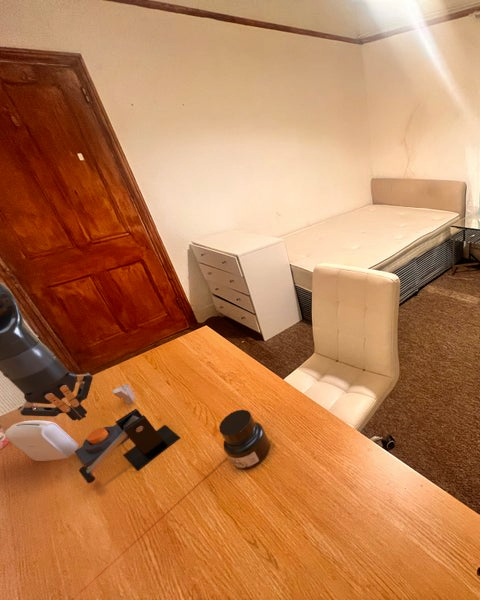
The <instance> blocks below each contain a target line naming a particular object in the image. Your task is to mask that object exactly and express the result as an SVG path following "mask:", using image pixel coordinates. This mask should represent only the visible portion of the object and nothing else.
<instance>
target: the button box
mask: <svg viewBox="0 0 480 600" xmlns="http://www.w3.org/2000/svg"><path fill="white" fill-rule="evenodd" d="M103 428H104V429H105V430H106V431H107V432H108V433H109V435H108V437H107V438H106V439H105V440H103V441H102V442H100V443H98V444H95V445H93V444H91V443H90V442H89V441H88V440H87V438H85V439H84V440H83V443H82V446H79V447H78V449H77V450H76V451H74V452H75V453H74V454H75V455H76V456H77V458H78V459H79V460H80V461H81V463H82V464H83V466H86V467H87V468H89V467H90V466H91V465H92V464H93V463H94V462H95V461H96V460H97V459H98V458H99V456H100V455H101V454H102V453H103V452H104V451H105V450H106V449H107V448H108V447H109V446H110V445H111V444H112V443H113V442H114V440H115V439H116V438H117V437H118V436H119V435H120V434H121V433H122V432H123V430H122V429H121V428H120V427H119V426H118V425H117V424H116V423H115V424H114V425H111V426H107V425H106V426H104V427H103ZM128 440H130V439H129V437H128V436H127V437H126V438H125V439H124V440H123V441H122V442H121V443H120V444H119V445H118V446H117V448H119V446H121V445H123V443H125V442H126V441H128Z"/></svg>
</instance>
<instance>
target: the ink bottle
mask: <svg viewBox="0 0 480 600" xmlns="http://www.w3.org/2000/svg"><path fill="white" fill-rule="evenodd" d="M218 429H219V433H220V435H221V437H222V438H223V439H224V440H223V450H224V452H225V454H226V455H227V457H228V459H229V460H230V463H231V464H232V465H233V466H234V467H235V468H237V469H241V470H249V469H253V468H255V467H256V466H258V465H259V464H260V463H261V462H262V461H263V460H265V458H266V457H267V456H268V454H269V451H270V449H271V442H270V439H269V437H268V435H267V433H266V431H265V429H264V427H263V425H262V424H261V423H260V422H258V421H255V420H254V418H253V415H252V414H251V412H249V410H246V409H238V410H237V409H236V410H235V411H233V412H230V413H229V414H227V415H226V416H225V417H224V418H223V419H222V420H221V421H220V424H219V426H218Z"/></svg>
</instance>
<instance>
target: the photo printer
mask: <svg viewBox="0 0 480 600" xmlns="http://www.w3.org/2000/svg"><path fill="white" fill-rule="evenodd" d="M4 435H5V439H6V440H7V441H9V442H10V443H11V444H12V445H14V446H15V447H16V448H17V449H19V450H20V451H21V452H22V453H23V454H25V455H26V456H28V457H29V458H30V459H31V460H33V461H35V462H51V461H58V460H66V459H68V458H69V457H71V456H72V455H74V454H76V453H75V452H74V451H76V450H77V449H79V448H80V445H79V444H78V443H77V442H76V440H74V439H73V438H72V437H71V436H70V435H69V433H67V432H66V431H65V430H64V429H63V428H62V427H61V426H60V425H58V424H57V423H56V422H54V421H50V420H41V419H40V420H39V419H36V420H35V419H34V420H24V421H19V422H17V423H13V424H12V425H11V426H10V427H8V428H6V430H5V434H4Z"/></svg>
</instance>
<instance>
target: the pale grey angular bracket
mask: <svg viewBox="0 0 480 600" xmlns="http://www.w3.org/2000/svg"><path fill="white" fill-rule="evenodd" d="M112 394H113V395H114V396H116V397H117V398H119V399H120V400H121V399H123V401H124V402H125V404H126V405H130V404H132V403H135V399H136V393H135V392H134V391H133V389H132V388H131V386H130V385H129V384H123V385H120V386H119V387H117V388H114V389H112Z"/></svg>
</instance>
